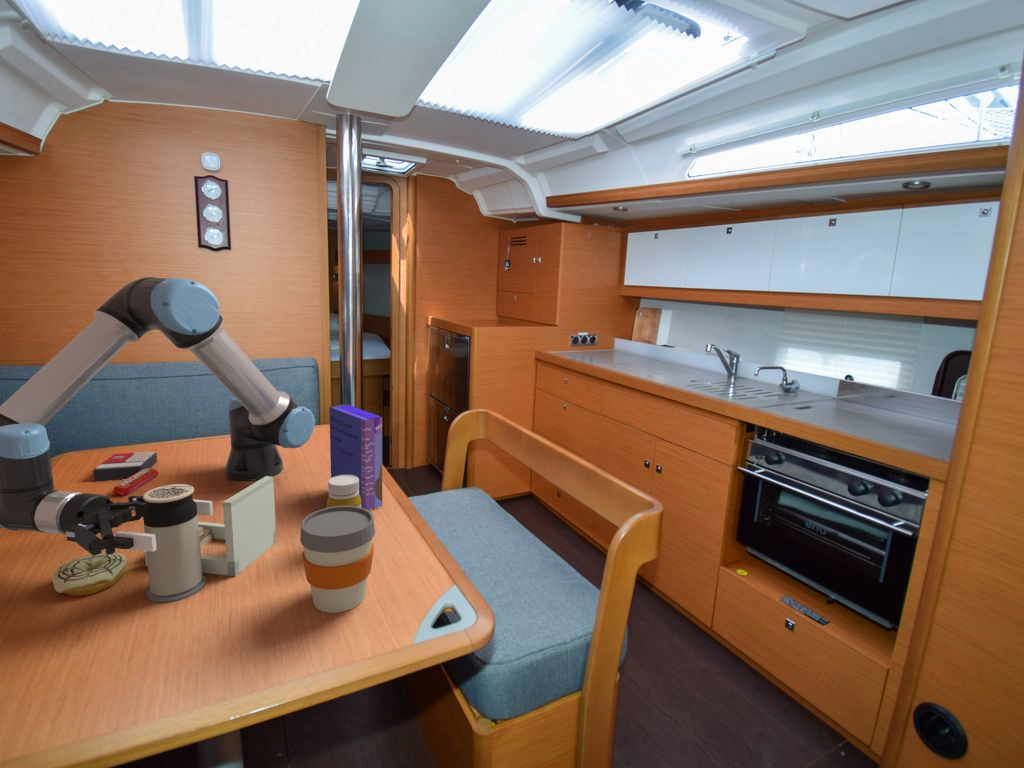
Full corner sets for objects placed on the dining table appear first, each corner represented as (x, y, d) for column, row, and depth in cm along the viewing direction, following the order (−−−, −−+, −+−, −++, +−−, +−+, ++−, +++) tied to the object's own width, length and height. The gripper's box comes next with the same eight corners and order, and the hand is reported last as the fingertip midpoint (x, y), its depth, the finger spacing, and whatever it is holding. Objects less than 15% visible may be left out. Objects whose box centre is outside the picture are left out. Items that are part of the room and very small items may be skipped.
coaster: (199, 568, 99) (199, 566, 99) (211, 589, 92) (211, 587, 92) (142, 585, 93) (142, 583, 93) (151, 609, 86) (151, 606, 86)
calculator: (156, 450, 155) (140, 464, 141) (157, 464, 155) (141, 479, 142) (113, 452, 151) (92, 467, 137) (114, 466, 152) (93, 482, 138)
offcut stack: (147, 560, 101) (145, 543, 100) (185, 536, 111) (184, 520, 110) (178, 564, 100) (177, 546, 99) (214, 539, 110) (212, 523, 109)
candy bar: (125, 498, 129) (124, 487, 129) (110, 498, 129) (108, 487, 128) (161, 475, 145) (160, 465, 144) (147, 475, 144) (146, 465, 144)
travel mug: (184, 598, 89) (176, 502, 85) (139, 596, 89) (129, 499, 85) (211, 573, 97) (205, 484, 93) (170, 571, 97) (162, 482, 93)
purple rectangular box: (382, 507, 130) (382, 416, 125) (365, 512, 126) (364, 419, 122) (347, 487, 141) (345, 403, 137) (331, 491, 138) (329, 405, 134)
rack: (145, 566, 99) (138, 493, 96) (196, 533, 112) (191, 469, 109) (235, 576, 97) (230, 502, 94) (276, 542, 110) (273, 476, 107)
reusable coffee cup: (355, 624, 85) (354, 541, 82) (287, 613, 87) (283, 532, 84) (386, 583, 97) (386, 509, 94) (326, 574, 99) (324, 501, 96)
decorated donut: (48, 606, 86) (45, 586, 86) (60, 576, 95) (57, 557, 94) (124, 589, 92) (122, 570, 91) (129, 561, 101) (127, 544, 100)
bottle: (368, 541, 112) (367, 477, 110) (348, 556, 106) (347, 488, 103) (341, 535, 114) (340, 472, 112) (320, 549, 108) (318, 483, 105)
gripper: (136, 505, 105) (231, 514, 103) (5, 569, 81) (126, 583, 79) (132, 470, 104) (229, 479, 102) (-2, 525, 80) (122, 538, 77)
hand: (185, 524), depth 90 cm, fingers open, 13 cm apart
